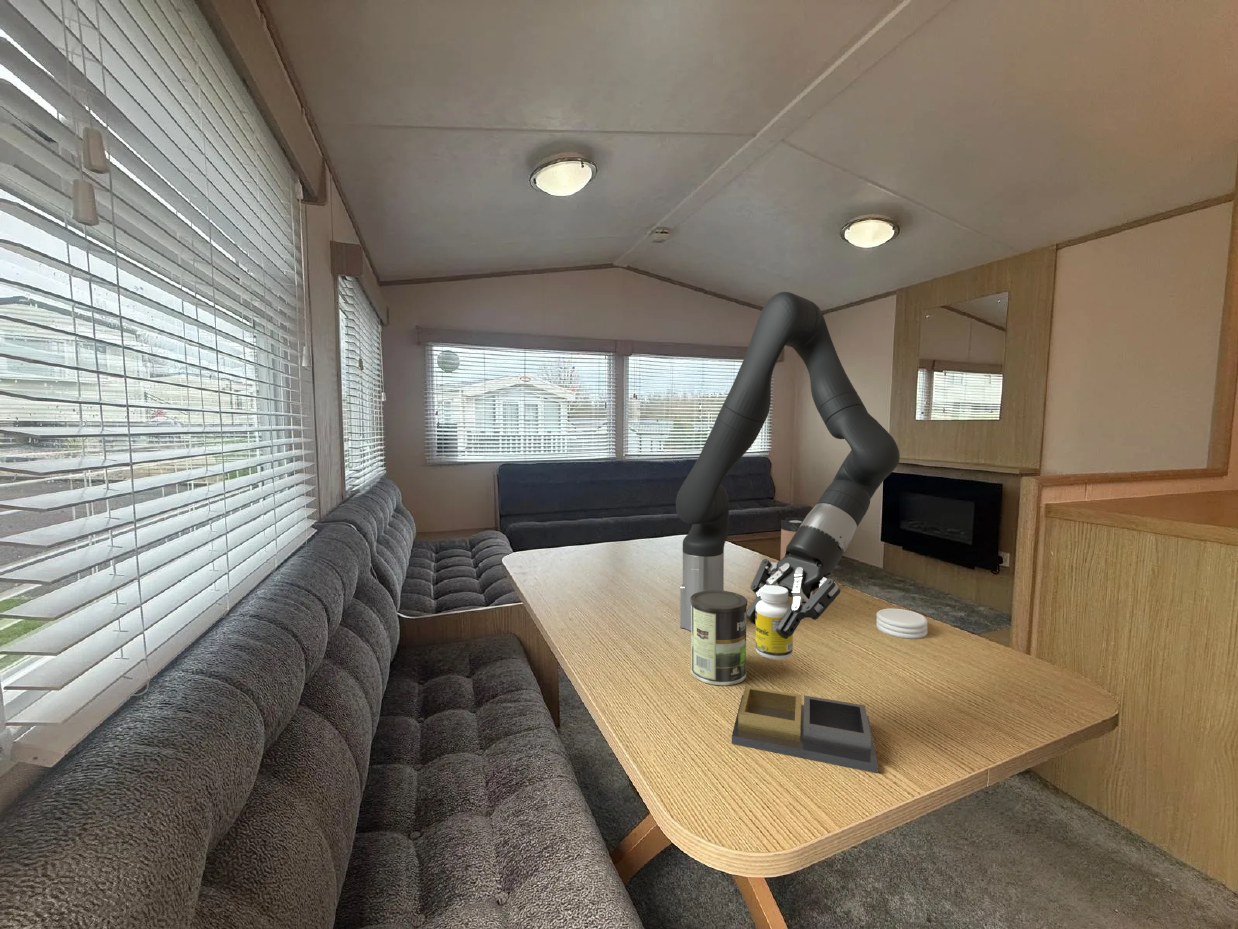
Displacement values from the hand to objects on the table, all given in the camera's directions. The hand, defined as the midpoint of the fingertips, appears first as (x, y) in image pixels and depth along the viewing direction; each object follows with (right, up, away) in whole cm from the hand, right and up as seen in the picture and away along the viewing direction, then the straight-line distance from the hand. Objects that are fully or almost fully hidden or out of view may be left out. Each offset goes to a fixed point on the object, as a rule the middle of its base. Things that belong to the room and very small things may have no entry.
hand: (765, 627), depth 77 cm
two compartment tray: (+6, -16, 0) cm, 17 cm away
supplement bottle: (+2, -4, +1) cm, 5 cm away
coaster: (+41, -13, +38) cm, 58 cm away
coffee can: (-3, -15, +20) cm, 25 cm away
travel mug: (+26, -11, +64) cm, 70 cm away
